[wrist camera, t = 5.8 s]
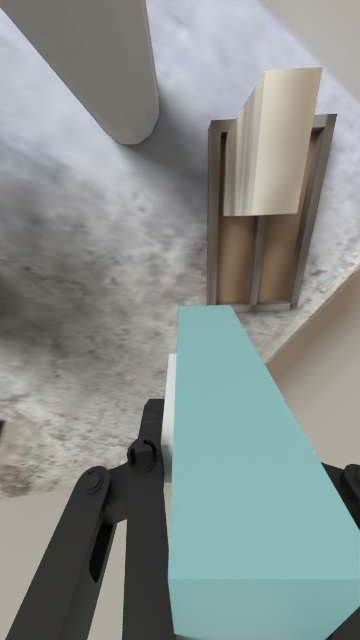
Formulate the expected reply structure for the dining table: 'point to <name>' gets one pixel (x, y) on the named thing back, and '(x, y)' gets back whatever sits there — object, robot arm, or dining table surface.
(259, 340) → the dining table surface
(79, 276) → the dining table surface
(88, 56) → the water bottle
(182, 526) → the teal door
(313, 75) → the track base
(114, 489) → the robot arm
